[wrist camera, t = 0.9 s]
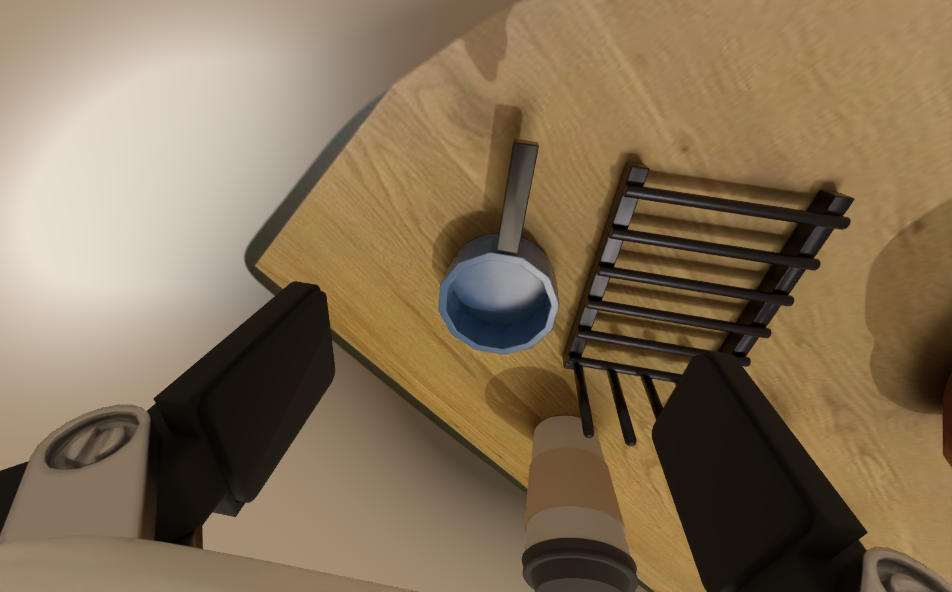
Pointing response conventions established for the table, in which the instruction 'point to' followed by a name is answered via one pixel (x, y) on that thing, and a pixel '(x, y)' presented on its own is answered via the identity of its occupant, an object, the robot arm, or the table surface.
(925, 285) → the table surface
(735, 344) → the dish rack
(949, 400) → the butternut squash
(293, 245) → the table surface
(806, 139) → the table surface
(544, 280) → the saucepan
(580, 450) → the coffee cup
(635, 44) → the table surface
